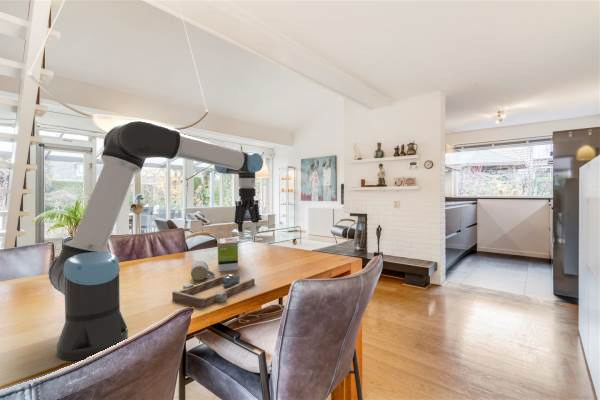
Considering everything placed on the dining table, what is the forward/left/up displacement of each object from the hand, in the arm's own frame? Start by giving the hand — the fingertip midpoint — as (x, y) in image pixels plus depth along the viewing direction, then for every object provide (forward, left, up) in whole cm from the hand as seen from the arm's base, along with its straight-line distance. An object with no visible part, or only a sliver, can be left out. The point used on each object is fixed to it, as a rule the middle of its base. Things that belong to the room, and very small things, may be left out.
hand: (247, 237), depth 134 cm
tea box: (+11, +23, -19) cm, 32 cm away
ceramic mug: (-10, +19, -19) cm, 29 cm away
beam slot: (-19, 0, -19) cm, 27 cm away
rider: (-11, 0, -19) cm, 22 cm away
